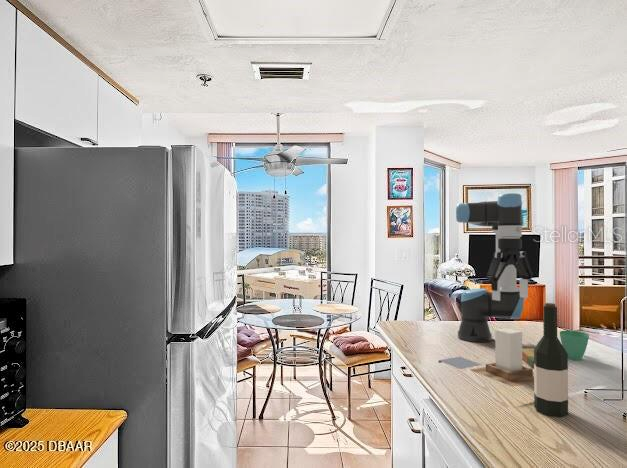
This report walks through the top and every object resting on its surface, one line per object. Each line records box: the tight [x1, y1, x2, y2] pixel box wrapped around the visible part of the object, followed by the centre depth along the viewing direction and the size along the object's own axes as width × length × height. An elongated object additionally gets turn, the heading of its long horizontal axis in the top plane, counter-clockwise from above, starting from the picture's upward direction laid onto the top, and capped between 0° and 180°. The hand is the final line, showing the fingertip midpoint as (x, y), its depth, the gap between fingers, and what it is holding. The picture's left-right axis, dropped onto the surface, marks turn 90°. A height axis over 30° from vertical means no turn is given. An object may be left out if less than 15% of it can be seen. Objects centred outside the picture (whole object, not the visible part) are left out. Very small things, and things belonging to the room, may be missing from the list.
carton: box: [522, 348, 534, 370], centre depth 156 cm, size 8×16×4 cm, turn 172°
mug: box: [559, 329, 590, 361], centre depth 165 cm, size 15×10×10 cm
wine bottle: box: [533, 302, 569, 418], centre depth 115 cm, size 8×8×30 cm
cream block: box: [494, 327, 523, 372], centre depth 143 cm, size 6×6×15 cm
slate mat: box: [438, 356, 483, 370], centre depth 156 cm, size 11×11×1 cm
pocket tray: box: [470, 362, 534, 388], centre depth 143 cm, size 18×18×3 cm
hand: (510, 298), depth 144 cm, fingers open, 13 cm apart
